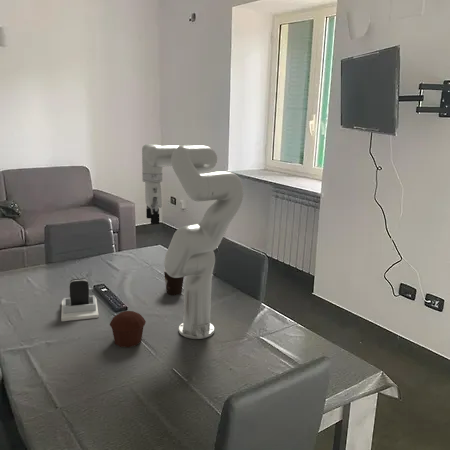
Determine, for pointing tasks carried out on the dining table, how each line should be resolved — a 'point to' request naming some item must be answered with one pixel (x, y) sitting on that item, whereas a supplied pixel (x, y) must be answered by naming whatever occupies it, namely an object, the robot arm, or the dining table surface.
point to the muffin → (127, 328)
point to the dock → (79, 310)
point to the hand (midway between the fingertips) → (152, 221)
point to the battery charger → (79, 291)
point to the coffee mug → (173, 284)
